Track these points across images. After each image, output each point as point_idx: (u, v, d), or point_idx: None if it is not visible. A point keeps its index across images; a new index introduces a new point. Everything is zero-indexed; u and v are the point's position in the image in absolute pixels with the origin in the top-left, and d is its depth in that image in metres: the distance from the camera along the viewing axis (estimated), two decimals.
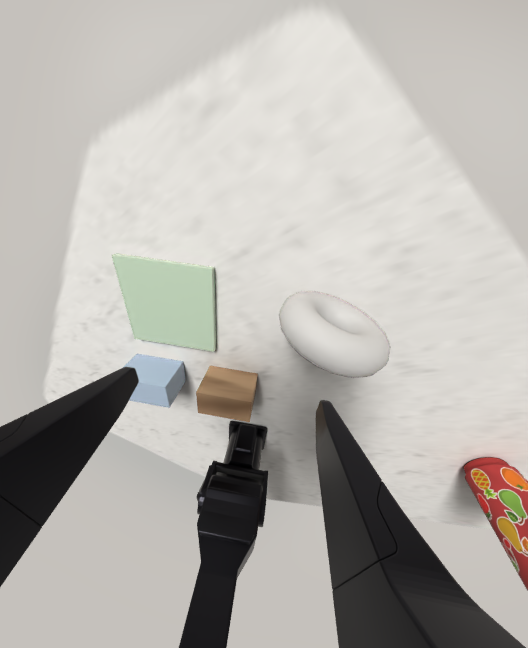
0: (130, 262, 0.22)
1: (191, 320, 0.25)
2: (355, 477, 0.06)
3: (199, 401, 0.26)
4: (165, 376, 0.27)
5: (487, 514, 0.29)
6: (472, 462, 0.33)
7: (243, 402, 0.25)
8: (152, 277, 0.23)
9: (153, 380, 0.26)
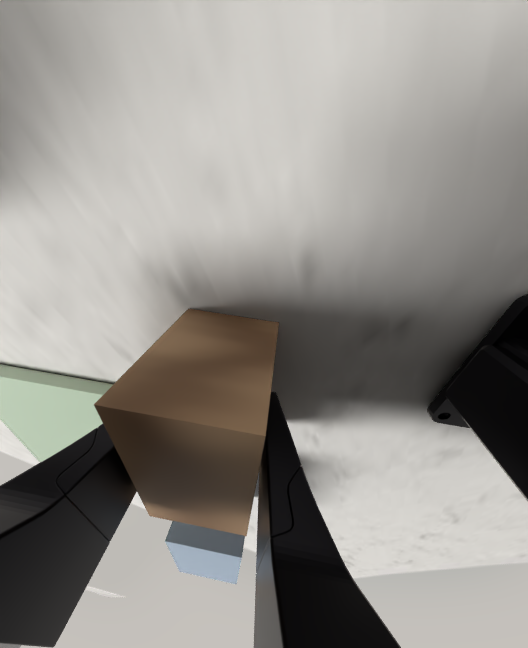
0: (33, 450, 0.17)
1: (76, 416, 0.13)
2: (275, 462, 0.06)
3: (187, 520, 0.08)
4: None
5: None
6: None
7: (115, 431, 0.05)
8: (36, 437, 0.15)
9: None
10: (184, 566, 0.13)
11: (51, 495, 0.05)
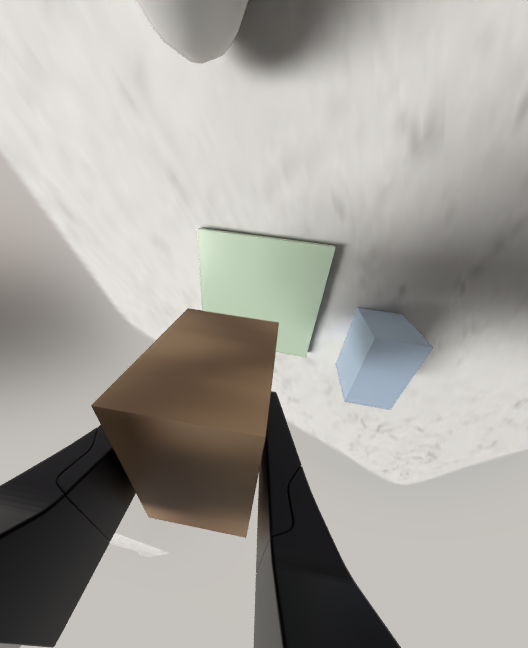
0: None
1: (275, 274, 0.17)
2: (275, 462, 0.06)
3: (186, 522, 0.08)
4: (363, 334, 0.16)
5: None
6: None
7: (113, 433, 0.05)
8: (220, 307, 0.20)
9: (362, 352, 0.16)
10: (358, 387, 0.17)
11: (51, 495, 0.05)
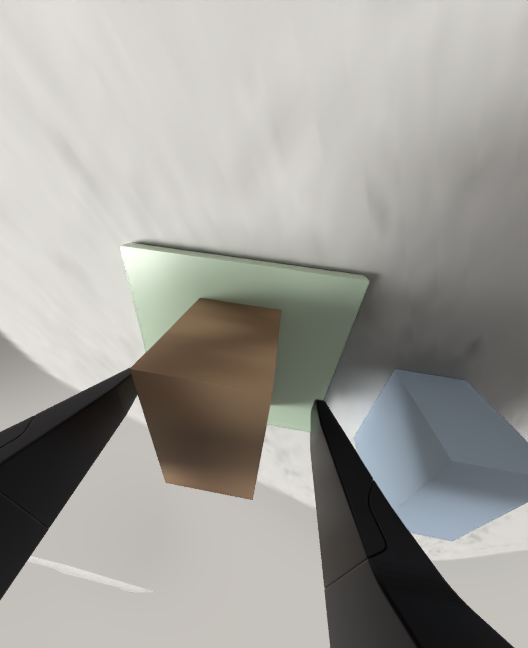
0: None
1: None
2: (347, 475, 0.06)
3: (199, 486, 0.09)
4: (416, 429, 0.09)
5: None
6: None
7: (145, 394, 0.06)
8: None
9: (415, 466, 0.09)
10: (402, 514, 0.10)
11: None
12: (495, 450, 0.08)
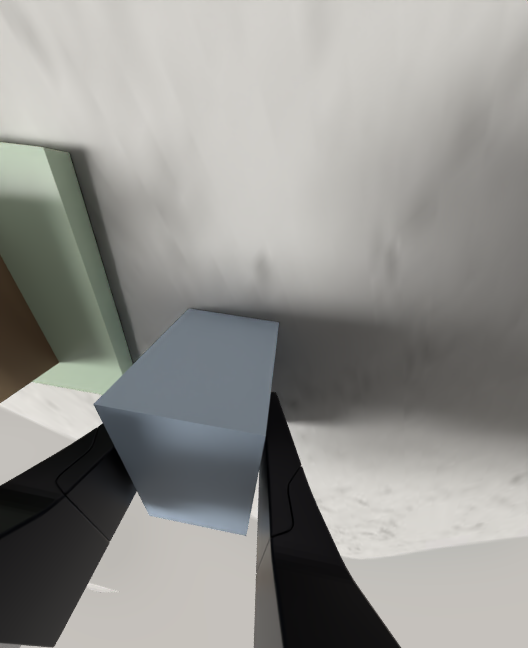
0: None
1: None
2: (275, 462, 0.06)
3: None
4: None
5: None
6: None
7: None
8: None
9: None
10: (154, 498, 0.07)
11: (51, 494, 0.05)
12: (198, 394, 0.05)
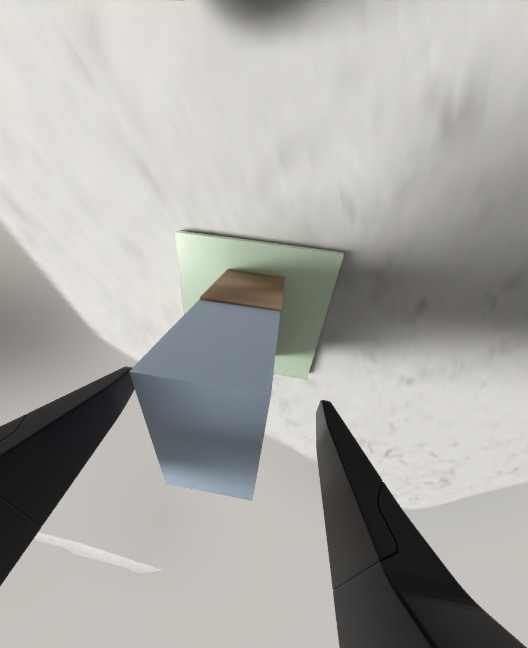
0: None
1: None
2: (356, 477, 0.06)
3: None
4: None
5: None
6: None
7: None
8: None
9: None
10: (171, 464, 0.08)
11: None
12: (213, 365, 0.06)
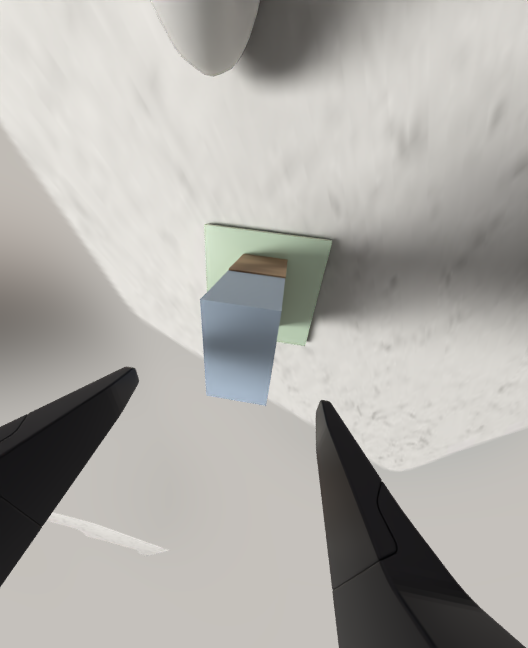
0: None
1: None
2: (355, 477, 0.06)
3: None
4: None
5: None
6: None
7: None
8: None
9: None
10: (213, 375, 0.13)
11: None
12: (246, 299, 0.11)
